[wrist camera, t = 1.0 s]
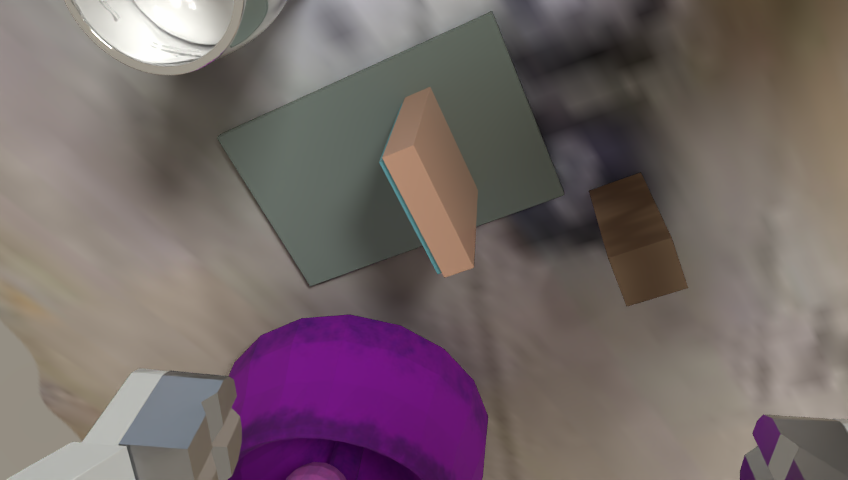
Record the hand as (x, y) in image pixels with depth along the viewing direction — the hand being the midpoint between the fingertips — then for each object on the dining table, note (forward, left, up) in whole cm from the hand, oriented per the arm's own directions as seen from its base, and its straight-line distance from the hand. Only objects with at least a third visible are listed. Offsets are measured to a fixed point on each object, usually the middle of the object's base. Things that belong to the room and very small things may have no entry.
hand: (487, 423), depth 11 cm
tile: (+5, +5, -29) cm, 30 cm away
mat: (+9, +5, -30) cm, 32 cm away
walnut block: (-3, +13, -30) cm, 33 cm away
